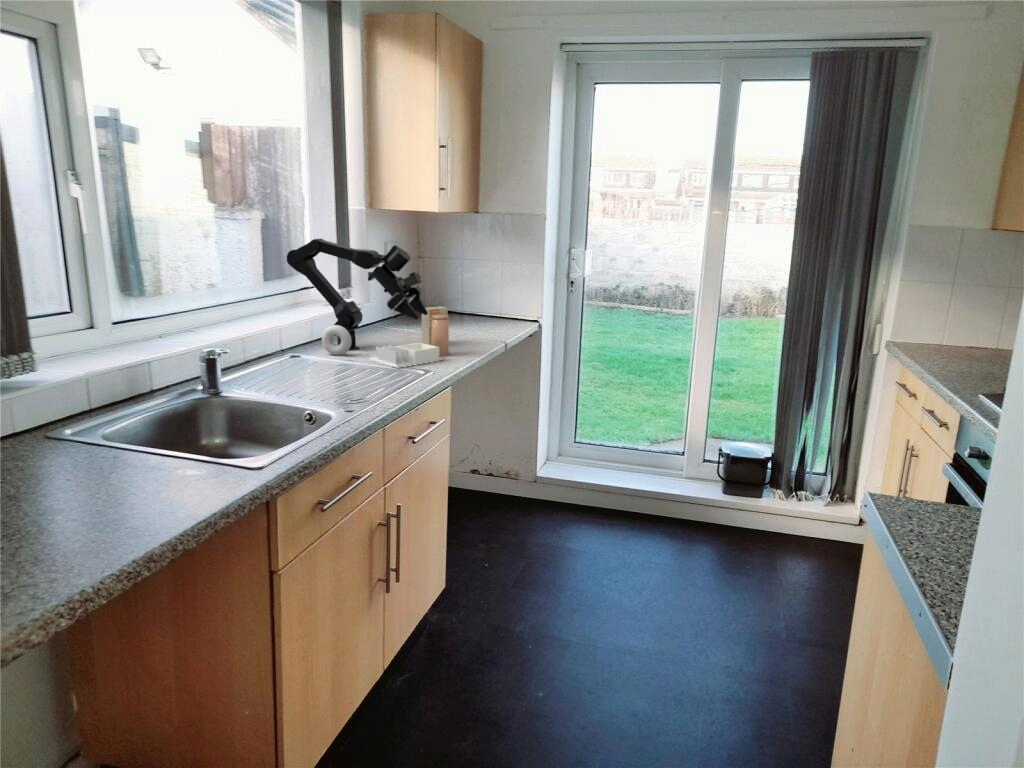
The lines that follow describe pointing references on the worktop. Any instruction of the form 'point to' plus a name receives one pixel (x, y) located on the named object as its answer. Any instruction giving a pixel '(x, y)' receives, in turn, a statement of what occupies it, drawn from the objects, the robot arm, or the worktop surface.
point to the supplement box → (430, 322)
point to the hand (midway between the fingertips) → (422, 316)
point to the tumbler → (440, 333)
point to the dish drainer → (407, 354)
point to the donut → (343, 336)
